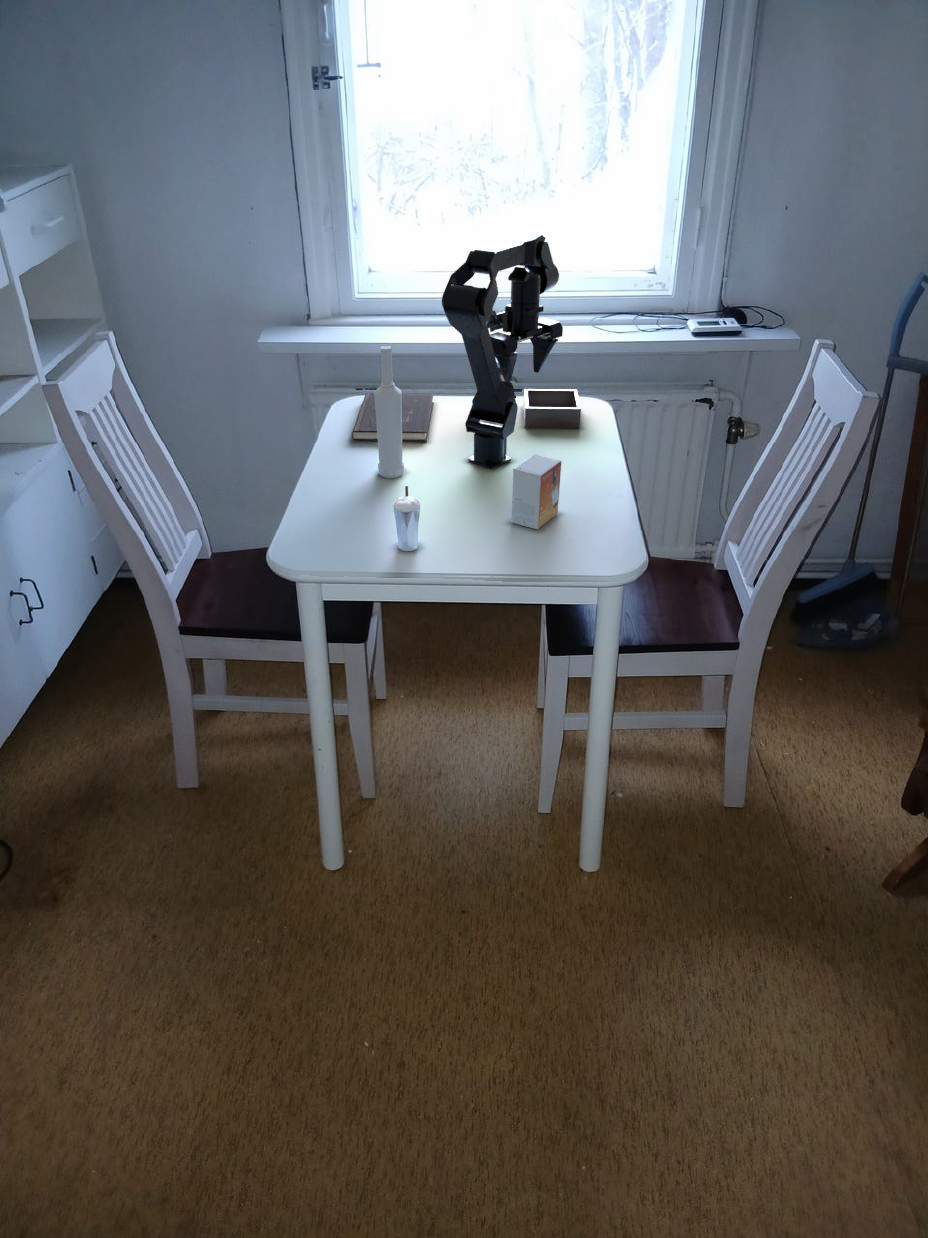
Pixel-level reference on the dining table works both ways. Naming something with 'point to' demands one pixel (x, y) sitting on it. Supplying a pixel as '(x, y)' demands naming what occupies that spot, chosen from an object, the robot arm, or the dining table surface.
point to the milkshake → (407, 521)
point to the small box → (535, 491)
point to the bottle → (389, 420)
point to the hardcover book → (413, 418)
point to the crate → (551, 408)
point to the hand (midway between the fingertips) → (521, 377)
